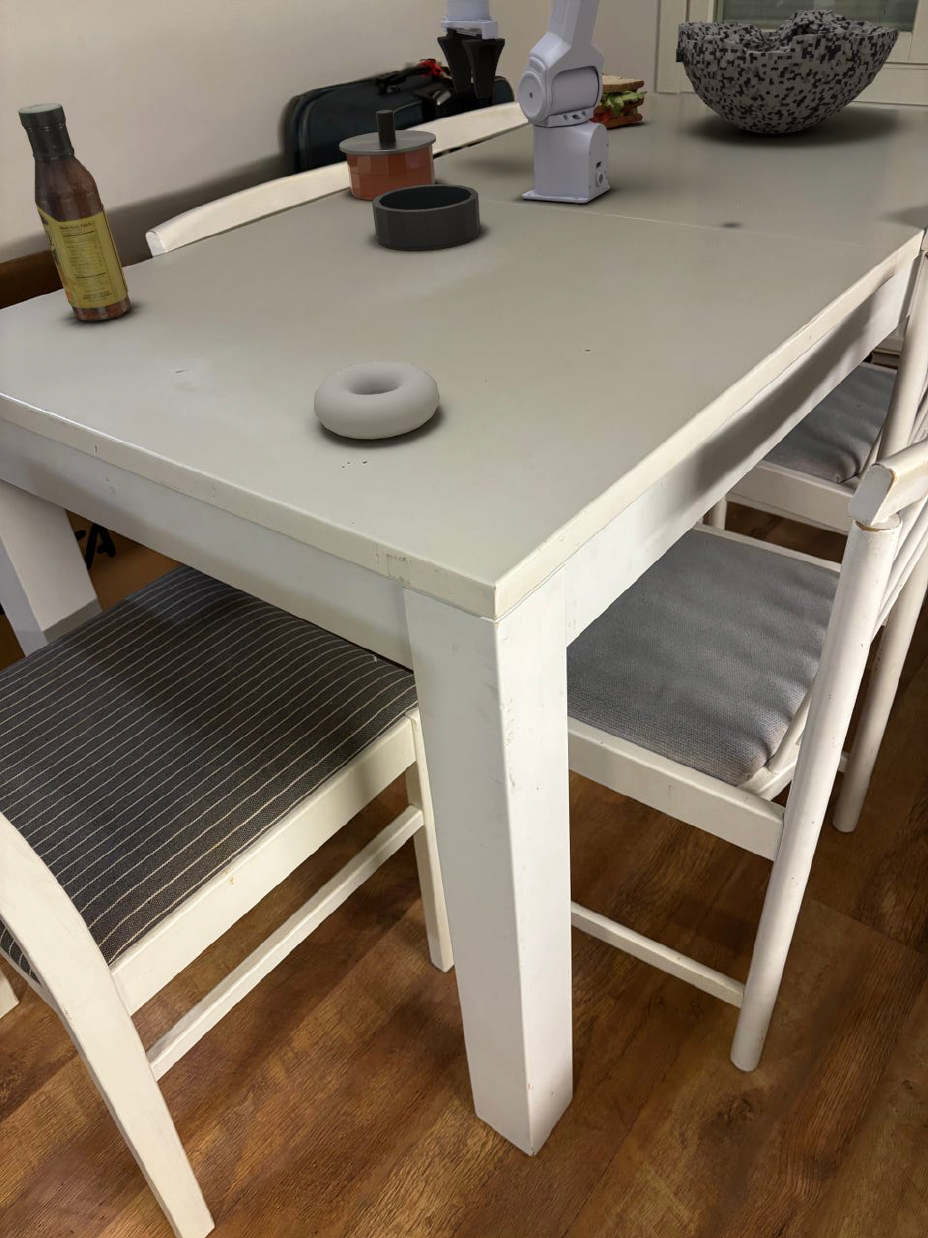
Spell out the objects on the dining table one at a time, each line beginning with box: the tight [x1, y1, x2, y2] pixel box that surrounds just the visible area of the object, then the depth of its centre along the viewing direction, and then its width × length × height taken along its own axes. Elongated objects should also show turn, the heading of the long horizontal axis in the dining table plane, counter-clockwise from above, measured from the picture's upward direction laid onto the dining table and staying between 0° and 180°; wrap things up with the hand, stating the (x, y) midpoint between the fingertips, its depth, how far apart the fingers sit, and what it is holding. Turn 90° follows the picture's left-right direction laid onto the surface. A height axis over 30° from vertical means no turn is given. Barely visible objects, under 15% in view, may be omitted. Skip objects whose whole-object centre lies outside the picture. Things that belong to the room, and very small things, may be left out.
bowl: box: [675, 9, 901, 135], centre depth 146 cm, size 31×31×15 cm
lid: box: [338, 109, 437, 155], centre depth 132 cm, size 14×14×5 cm
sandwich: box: [588, 71, 648, 129], centre depth 161 cm, size 16×12×8 cm
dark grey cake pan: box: [371, 183, 481, 252], centre depth 116 cm, size 13×13×4 cm
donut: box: [313, 360, 440, 440], centre depth 75 cm, size 10×4×10 cm
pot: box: [345, 144, 436, 201], centre depth 135 cm, size 12×12×6 cm
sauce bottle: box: [17, 102, 132, 322], centre depth 95 cm, size 7×6×20 cm
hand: (473, 94), depth 135 cm, fingers open, 7 cm apart
